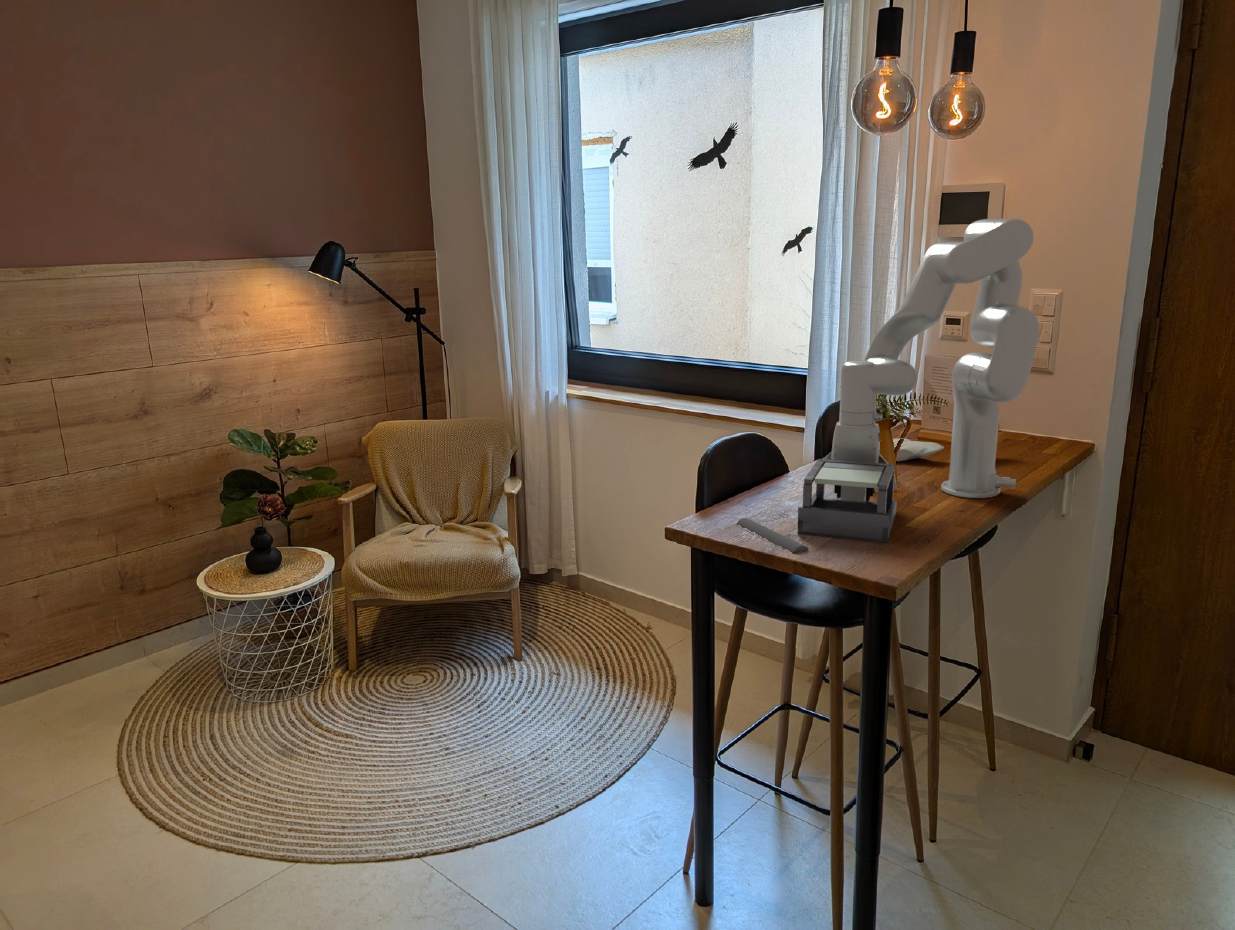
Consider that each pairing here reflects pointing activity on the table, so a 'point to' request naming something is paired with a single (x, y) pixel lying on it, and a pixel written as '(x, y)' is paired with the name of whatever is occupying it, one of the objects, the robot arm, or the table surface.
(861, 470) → the trapdoor
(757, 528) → the gray half cylinder
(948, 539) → the table surface
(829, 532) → the trapdoor frame
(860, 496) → the matte off-white cube
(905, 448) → the rock
